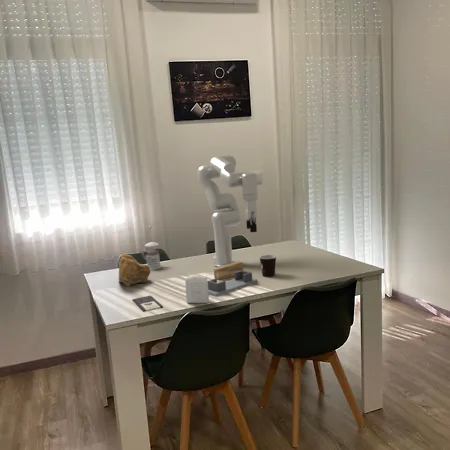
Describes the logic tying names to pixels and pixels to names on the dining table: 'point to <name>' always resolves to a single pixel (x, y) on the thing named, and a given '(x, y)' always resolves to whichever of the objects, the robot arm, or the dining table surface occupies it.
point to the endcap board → (230, 283)
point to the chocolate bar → (147, 303)
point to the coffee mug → (268, 265)
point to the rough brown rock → (132, 270)
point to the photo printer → (197, 289)
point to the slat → (227, 270)
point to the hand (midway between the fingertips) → (251, 230)
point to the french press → (156, 257)
